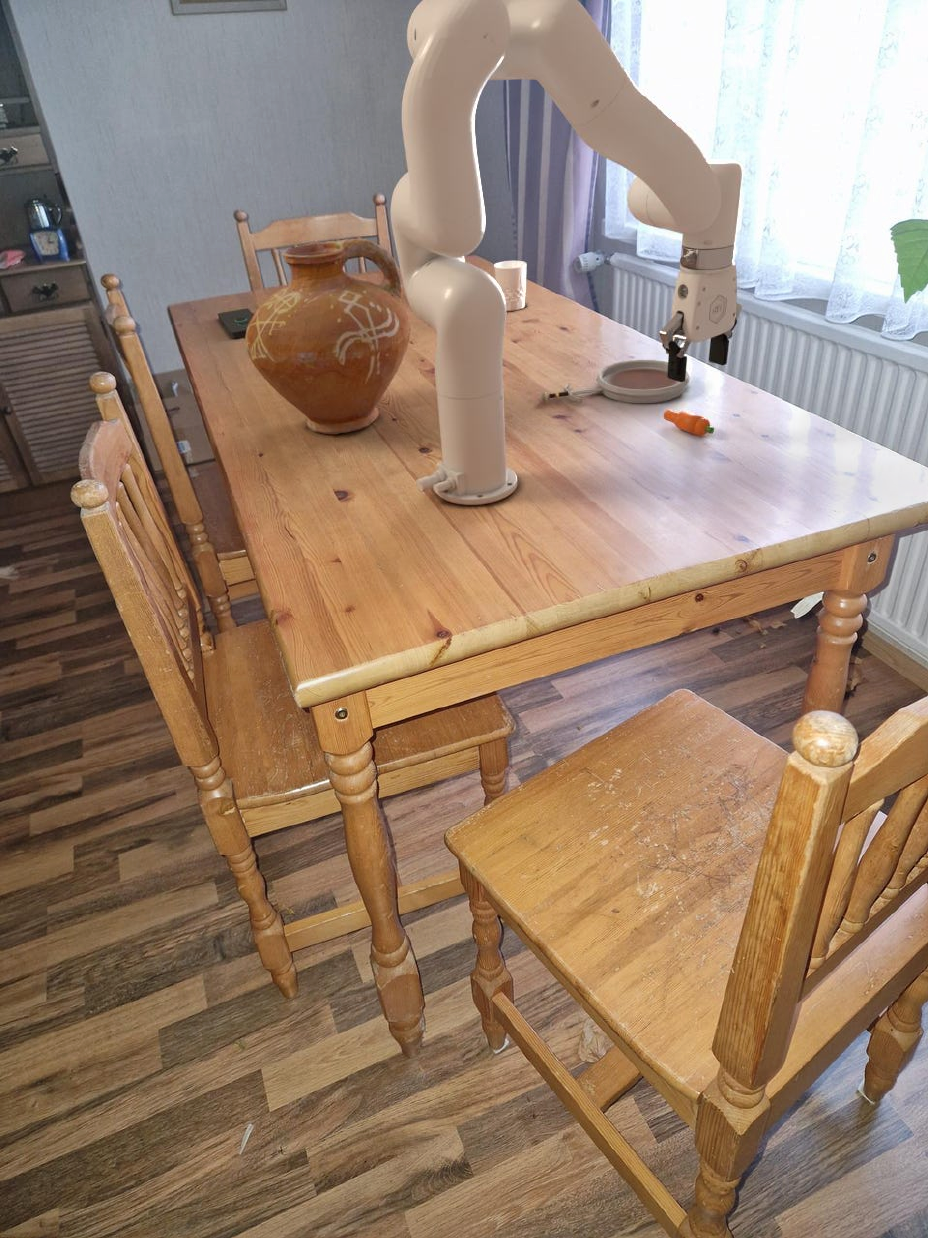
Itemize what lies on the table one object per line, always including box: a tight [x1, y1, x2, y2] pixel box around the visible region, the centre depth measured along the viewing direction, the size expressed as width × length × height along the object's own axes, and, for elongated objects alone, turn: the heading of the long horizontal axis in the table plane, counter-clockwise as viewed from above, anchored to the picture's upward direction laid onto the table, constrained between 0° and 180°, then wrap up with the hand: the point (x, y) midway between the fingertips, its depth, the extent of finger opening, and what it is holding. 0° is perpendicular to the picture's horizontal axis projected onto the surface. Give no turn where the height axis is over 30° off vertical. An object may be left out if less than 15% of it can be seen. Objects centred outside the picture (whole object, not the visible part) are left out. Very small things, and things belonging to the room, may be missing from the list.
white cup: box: [493, 260, 527, 312], centre depth 198 cm, size 8×8×10 cm
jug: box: [244, 238, 411, 435], centre depth 139 cm, size 28×28×30 cm
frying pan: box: [541, 359, 691, 404], centre depth 150 cm, size 17×3×28 cm
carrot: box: [663, 409, 715, 437], centre depth 134 cm, size 10×3×3 cm, turn 36°
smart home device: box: [217, 307, 254, 340], centre depth 203 cm, size 8×2×20 cm
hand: (697, 371), depth 129 cm, fingers open, 9 cm apart
